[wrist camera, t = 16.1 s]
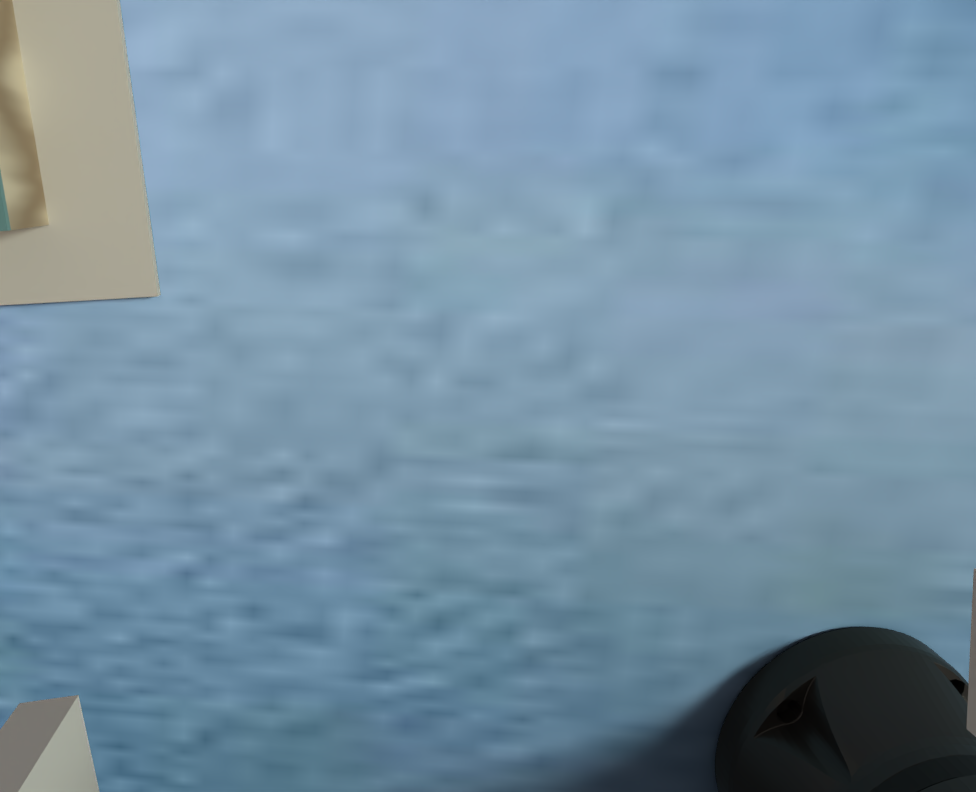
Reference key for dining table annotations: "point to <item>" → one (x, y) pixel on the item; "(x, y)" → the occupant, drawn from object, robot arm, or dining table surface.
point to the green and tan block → (17, 137)
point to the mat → (80, 161)
